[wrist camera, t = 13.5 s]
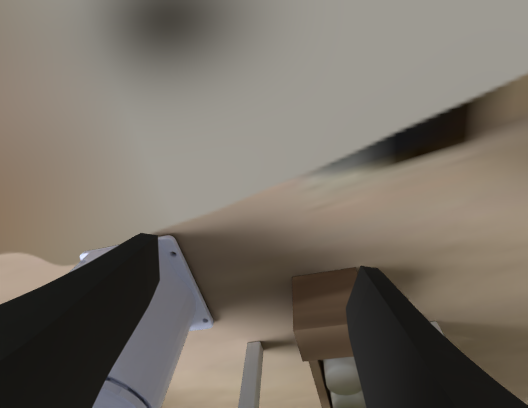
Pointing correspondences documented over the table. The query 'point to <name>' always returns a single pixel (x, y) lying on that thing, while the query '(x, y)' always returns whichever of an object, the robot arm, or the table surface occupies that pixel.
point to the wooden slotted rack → (327, 335)
